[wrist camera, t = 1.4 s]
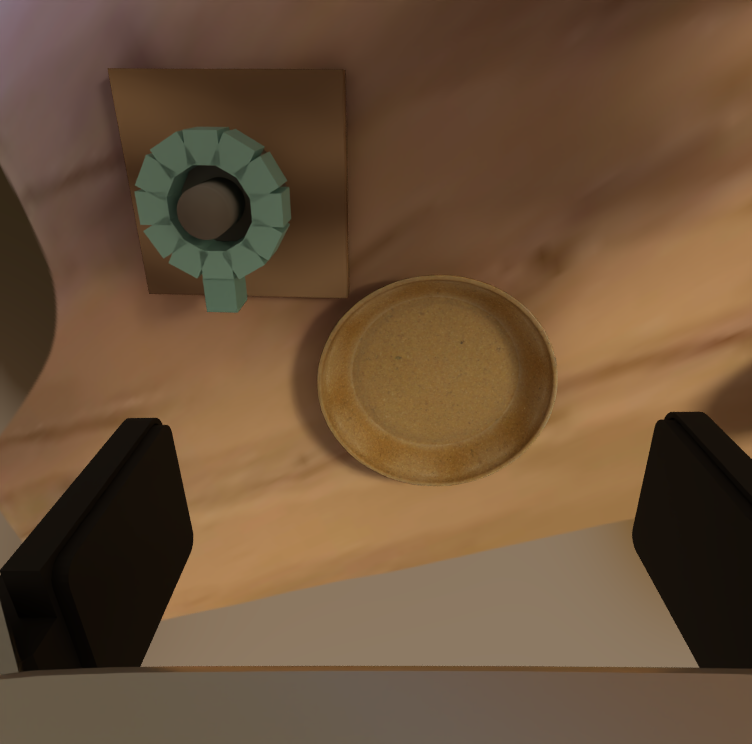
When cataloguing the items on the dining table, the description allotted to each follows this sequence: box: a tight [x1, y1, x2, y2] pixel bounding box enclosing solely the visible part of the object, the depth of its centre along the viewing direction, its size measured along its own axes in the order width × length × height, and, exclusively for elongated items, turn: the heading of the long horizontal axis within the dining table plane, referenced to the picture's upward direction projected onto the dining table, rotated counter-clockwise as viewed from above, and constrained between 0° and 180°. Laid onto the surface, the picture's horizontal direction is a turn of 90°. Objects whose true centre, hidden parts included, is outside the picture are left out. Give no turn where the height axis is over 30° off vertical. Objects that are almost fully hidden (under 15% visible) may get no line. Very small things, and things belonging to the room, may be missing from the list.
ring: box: [135, 127, 291, 313], centre depth 28 cm, size 9×7×2 cm
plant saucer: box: [317, 275, 557, 486], centre depth 36 cm, size 15×15×3 cm
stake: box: [108, 68, 349, 298], centre depth 29 cm, size 12×12×7 cm
